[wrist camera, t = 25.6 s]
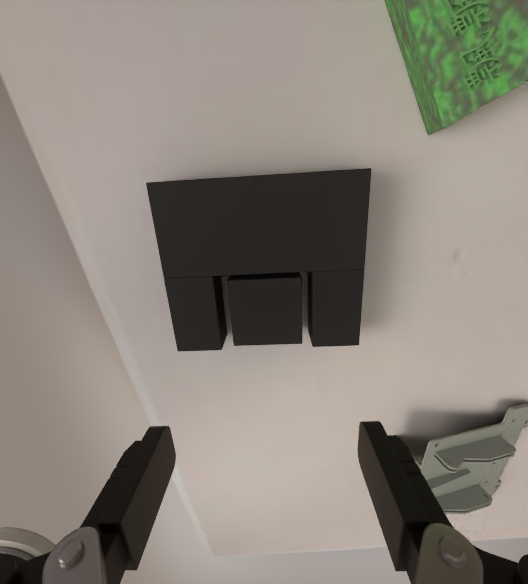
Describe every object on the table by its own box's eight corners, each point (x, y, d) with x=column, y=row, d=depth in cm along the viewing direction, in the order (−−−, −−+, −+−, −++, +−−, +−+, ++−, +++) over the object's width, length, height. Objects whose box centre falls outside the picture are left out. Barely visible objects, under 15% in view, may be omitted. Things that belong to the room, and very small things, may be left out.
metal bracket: (407, 552, 27) (446, 444, 22) (372, 495, 33) (397, 396, 28) (509, 515, 31) (561, 415, 26) (462, 469, 36) (498, 378, 31)
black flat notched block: (187, 335, 26) (177, 351, 24) (162, 184, 22) (145, 182, 19) (349, 329, 26) (359, 345, 23) (358, 172, 21) (371, 168, 18)
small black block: (238, 330, 26) (233, 345, 23) (232, 271, 24) (227, 280, 21) (299, 327, 26) (302, 343, 23) (298, 268, 24) (301, 277, 21)
